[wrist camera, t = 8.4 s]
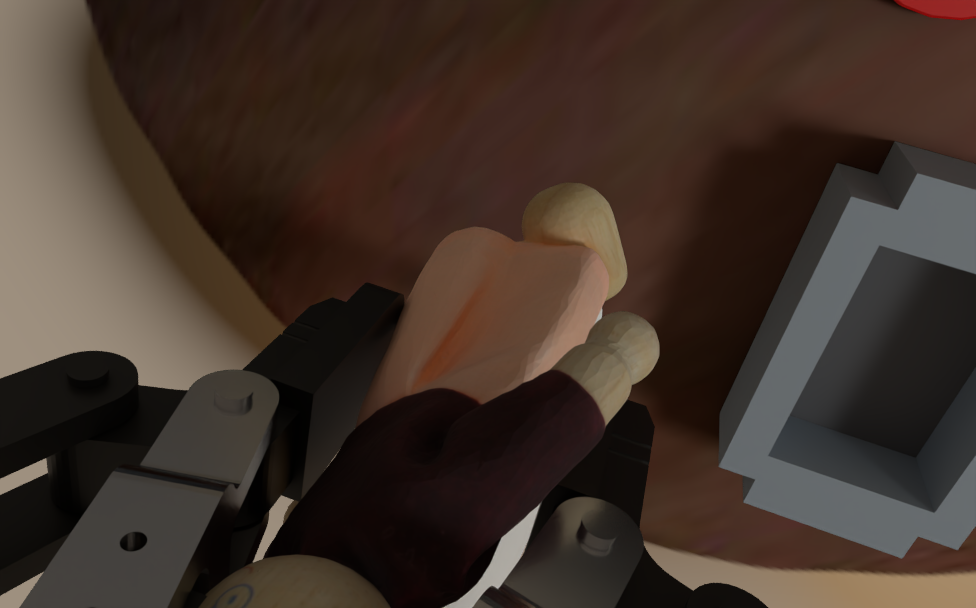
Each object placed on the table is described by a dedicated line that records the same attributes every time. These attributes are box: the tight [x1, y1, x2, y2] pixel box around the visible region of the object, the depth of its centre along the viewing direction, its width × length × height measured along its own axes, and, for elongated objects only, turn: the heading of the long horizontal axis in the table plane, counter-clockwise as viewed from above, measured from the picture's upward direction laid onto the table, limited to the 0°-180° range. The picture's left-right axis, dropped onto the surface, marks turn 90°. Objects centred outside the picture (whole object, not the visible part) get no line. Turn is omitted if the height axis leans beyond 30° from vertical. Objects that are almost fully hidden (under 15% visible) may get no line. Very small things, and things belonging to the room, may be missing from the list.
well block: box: [719, 142, 976, 558], centre depth 34 cm, size 11×17×4 cm, turn 168°
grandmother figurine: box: [199, 183, 659, 608], centre depth 12 cm, size 8×4×13 cm, turn 143°
